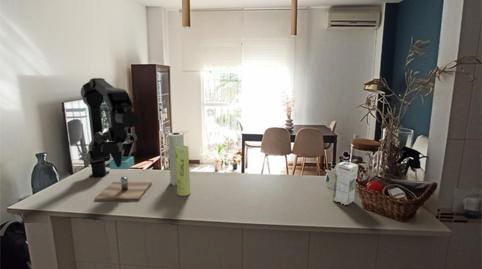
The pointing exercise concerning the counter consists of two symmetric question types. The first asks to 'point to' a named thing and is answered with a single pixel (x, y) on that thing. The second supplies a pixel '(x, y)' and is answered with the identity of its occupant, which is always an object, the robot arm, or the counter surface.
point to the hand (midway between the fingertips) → (122, 163)
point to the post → (124, 183)
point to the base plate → (124, 192)
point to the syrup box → (345, 182)
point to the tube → (182, 170)
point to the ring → (122, 163)
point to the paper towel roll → (174, 139)
